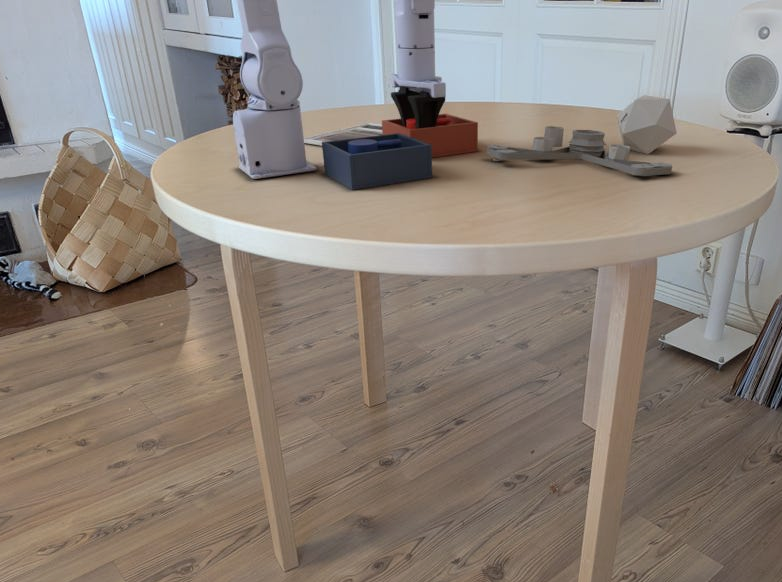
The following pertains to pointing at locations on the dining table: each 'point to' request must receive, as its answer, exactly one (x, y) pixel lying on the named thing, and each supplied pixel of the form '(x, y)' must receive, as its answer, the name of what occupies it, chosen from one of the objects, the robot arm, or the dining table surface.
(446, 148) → the red bin
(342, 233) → the dining table surface
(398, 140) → the blue scoop
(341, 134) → the grey striped panel
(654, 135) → the die
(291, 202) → the dining table surface
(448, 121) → the red scoop
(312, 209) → the dining table surface
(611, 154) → the pulley system
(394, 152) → the blue bin
